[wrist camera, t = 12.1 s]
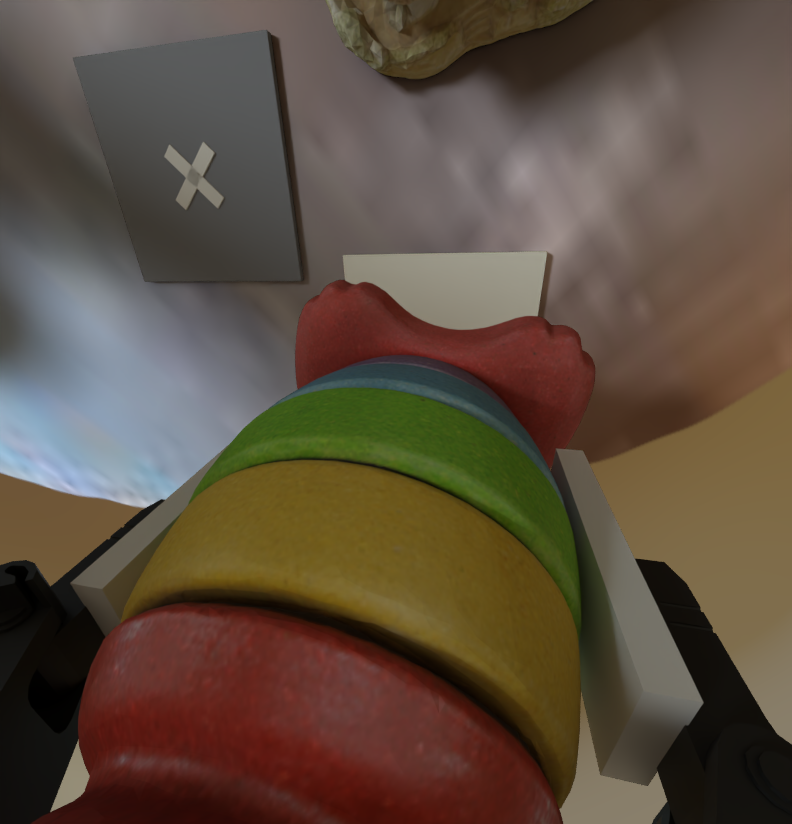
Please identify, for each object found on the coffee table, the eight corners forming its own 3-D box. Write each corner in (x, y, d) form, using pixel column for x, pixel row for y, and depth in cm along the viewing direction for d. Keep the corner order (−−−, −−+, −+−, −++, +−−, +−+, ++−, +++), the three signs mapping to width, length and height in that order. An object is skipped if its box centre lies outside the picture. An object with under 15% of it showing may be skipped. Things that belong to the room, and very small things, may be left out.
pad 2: (358, 422, 28) (356, 425, 28) (344, 254, 23) (342, 255, 22) (519, 433, 26) (519, 437, 25) (546, 251, 20) (547, 251, 20)
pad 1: (149, 280, 26) (143, 281, 26) (79, 60, 21) (71, 57, 20) (303, 280, 24) (300, 281, 23) (270, 33, 19) (265, 28, 18)
